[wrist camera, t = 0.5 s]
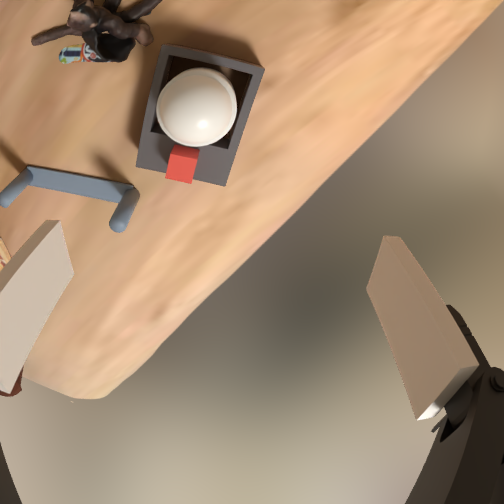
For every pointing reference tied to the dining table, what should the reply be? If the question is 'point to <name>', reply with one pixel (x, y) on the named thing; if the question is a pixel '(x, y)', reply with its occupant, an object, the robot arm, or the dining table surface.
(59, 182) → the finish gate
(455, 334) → the robot arm
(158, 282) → the dining table surface
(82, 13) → the stuffed animal
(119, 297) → the dining table surface
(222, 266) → the dining table surface
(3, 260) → the coffeecake box
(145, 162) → the dome base
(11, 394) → the muffin
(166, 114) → the dome
